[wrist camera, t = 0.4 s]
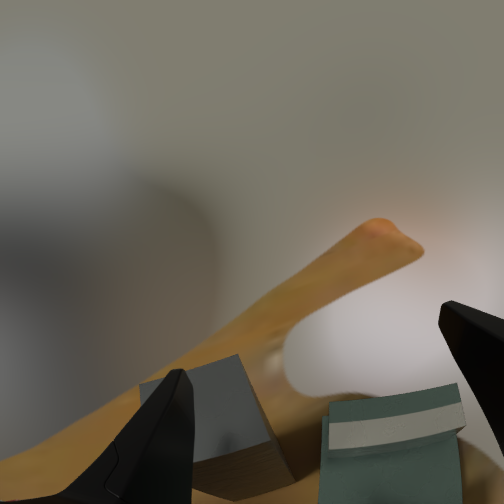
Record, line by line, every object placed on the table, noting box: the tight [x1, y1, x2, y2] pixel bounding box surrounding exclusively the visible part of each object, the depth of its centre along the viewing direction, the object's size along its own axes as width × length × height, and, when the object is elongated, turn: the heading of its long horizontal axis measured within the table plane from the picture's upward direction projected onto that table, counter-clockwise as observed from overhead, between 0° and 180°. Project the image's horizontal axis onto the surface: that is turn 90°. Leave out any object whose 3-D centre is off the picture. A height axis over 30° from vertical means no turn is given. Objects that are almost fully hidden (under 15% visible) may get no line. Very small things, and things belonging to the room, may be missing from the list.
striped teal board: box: [318, 383, 466, 504], centre depth 12 cm, size 14×11×6 cm
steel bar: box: [139, 354, 296, 502], centre depth 14 cm, size 4×5×13 cm
